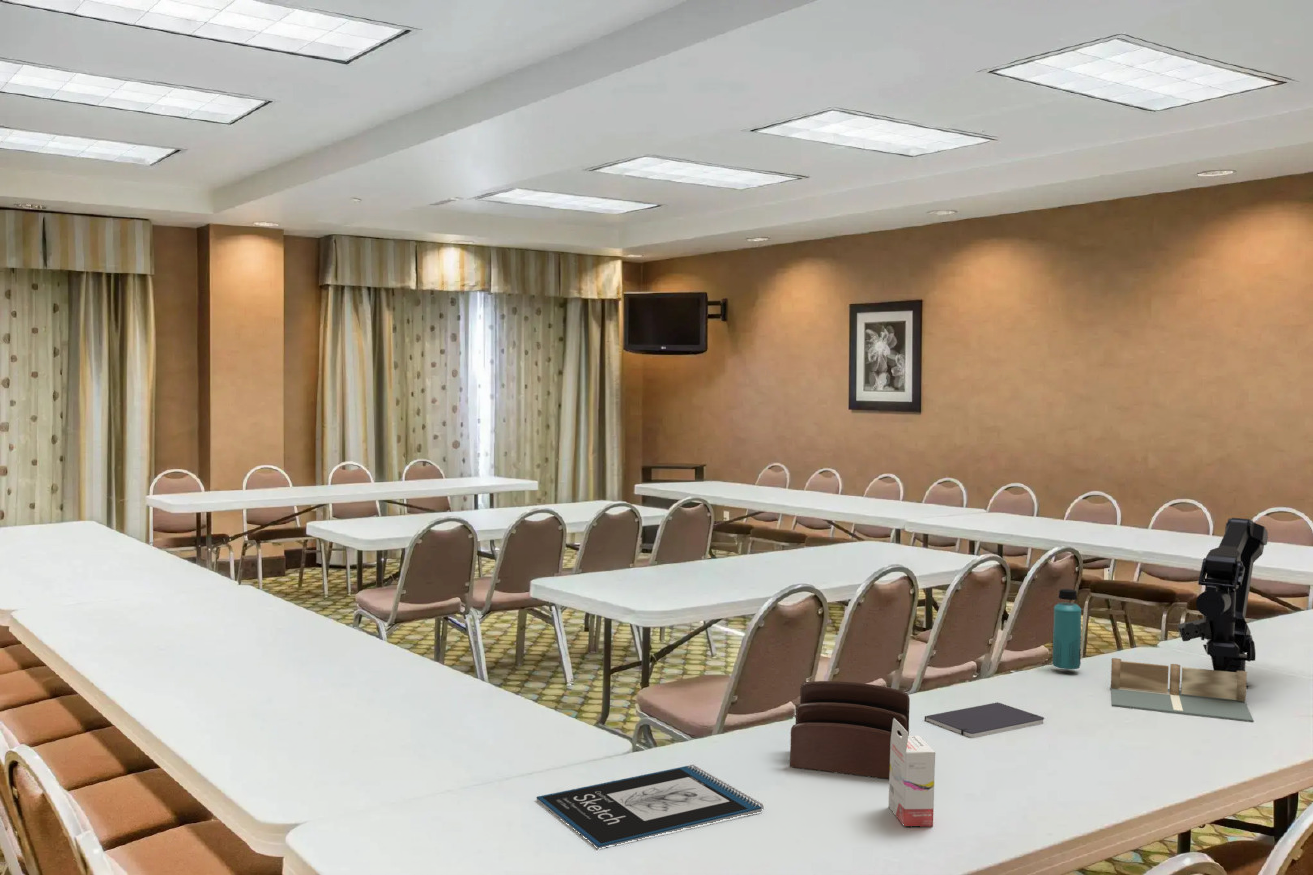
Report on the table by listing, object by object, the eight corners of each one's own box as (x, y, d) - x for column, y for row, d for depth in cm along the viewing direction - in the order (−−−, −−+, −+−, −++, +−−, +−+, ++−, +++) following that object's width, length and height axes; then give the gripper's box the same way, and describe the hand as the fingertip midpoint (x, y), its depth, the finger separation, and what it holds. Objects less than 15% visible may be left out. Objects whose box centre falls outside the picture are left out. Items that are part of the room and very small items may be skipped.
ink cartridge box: (935, 827, 170) (937, 733, 169) (903, 828, 170) (906, 733, 169) (917, 806, 179) (919, 716, 178) (887, 806, 178) (889, 716, 177)
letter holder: (799, 751, 205) (801, 676, 205) (908, 764, 199) (910, 686, 199) (789, 768, 196) (790, 689, 195) (903, 782, 190) (905, 701, 189)
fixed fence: (1110, 688, 252) (1111, 657, 252) (1178, 695, 247) (1180, 664, 246) (1110, 690, 250) (1111, 659, 250) (1179, 697, 245) (1180, 666, 245)
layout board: (1110, 684, 255) (1111, 682, 255) (1242, 698, 245) (1242, 696, 245) (1111, 706, 238) (1111, 703, 238) (1253, 722, 228) (1253, 719, 228)
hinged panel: (1181, 694, 245) (1182, 666, 244) (1181, 692, 247) (1182, 664, 246) (1246, 701, 240) (1247, 673, 240) (1245, 699, 242) (1246, 671, 242)
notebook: (997, 709, 236) (924, 723, 225) (997, 702, 236) (924, 716, 225) (1046, 725, 225) (971, 741, 214) (1046, 717, 225) (971, 733, 214)
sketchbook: (536, 805, 178) (536, 792, 178) (693, 773, 194) (693, 762, 193) (598, 854, 160) (598, 840, 160) (766, 815, 175) (766, 802, 175)
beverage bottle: (1082, 676, 262) (1085, 592, 261) (1053, 674, 263) (1056, 591, 262) (1077, 669, 268) (1080, 587, 267) (1049, 667, 270) (1051, 586, 269)
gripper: (1178, 600, 258) (1175, 666, 259) (1183, 615, 241) (1180, 685, 242) (1231, 604, 254) (1228, 671, 255) (1241, 619, 237) (1238, 691, 237)
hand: (1217, 679), depth 247 cm, fingers closed
